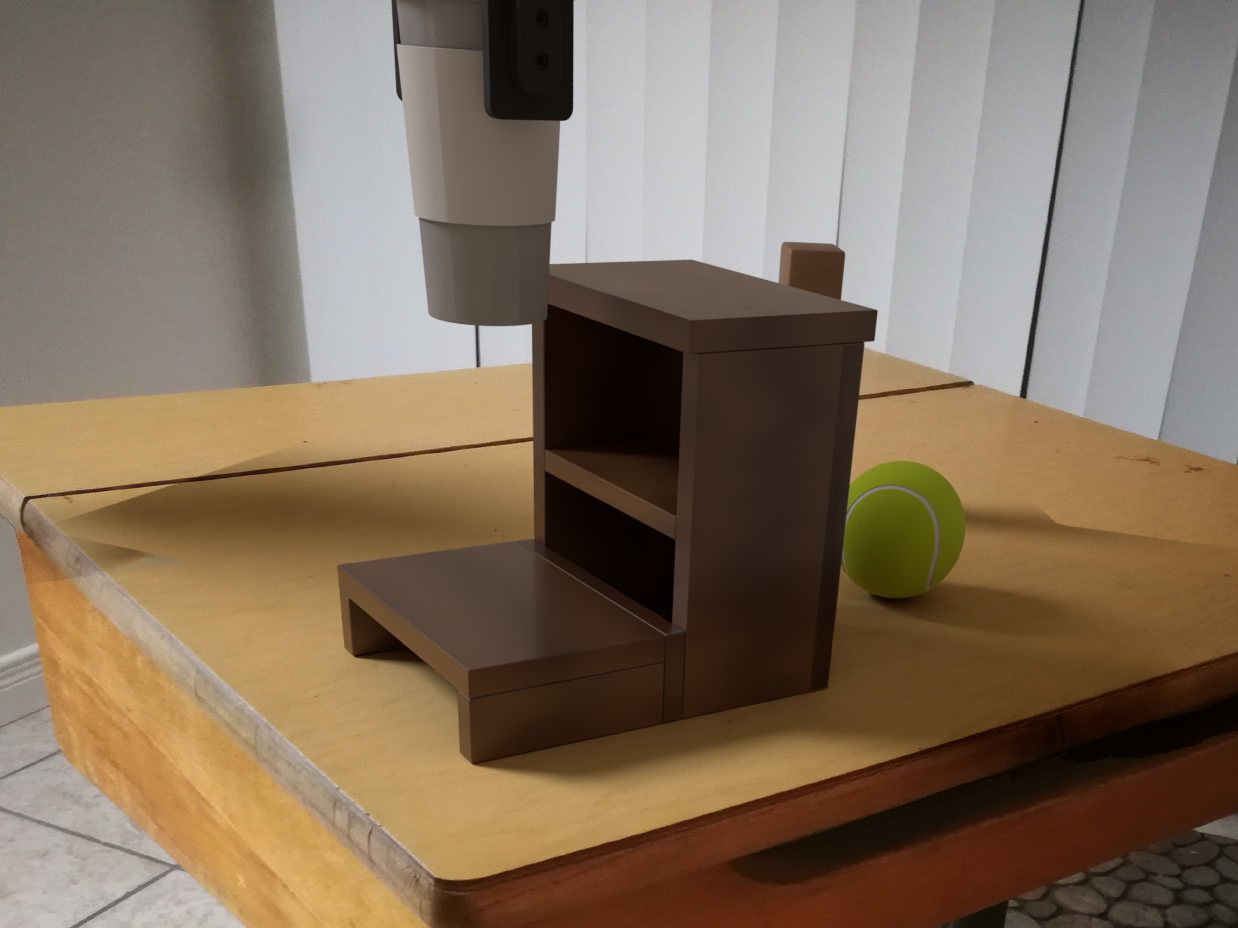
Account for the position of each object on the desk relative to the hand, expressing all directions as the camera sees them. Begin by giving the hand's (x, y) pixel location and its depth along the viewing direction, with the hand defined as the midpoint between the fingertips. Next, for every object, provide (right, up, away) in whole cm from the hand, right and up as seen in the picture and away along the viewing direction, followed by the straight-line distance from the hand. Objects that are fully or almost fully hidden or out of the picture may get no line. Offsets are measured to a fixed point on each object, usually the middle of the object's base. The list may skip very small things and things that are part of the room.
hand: (481, 106), depth 52 cm
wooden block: (+14, -2, +41) cm, 43 cm away
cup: (0, -6, +4) cm, 7 cm away
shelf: (+3, -18, +14) cm, 23 cm away
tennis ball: (+18, -12, +25) cm, 33 cm away
